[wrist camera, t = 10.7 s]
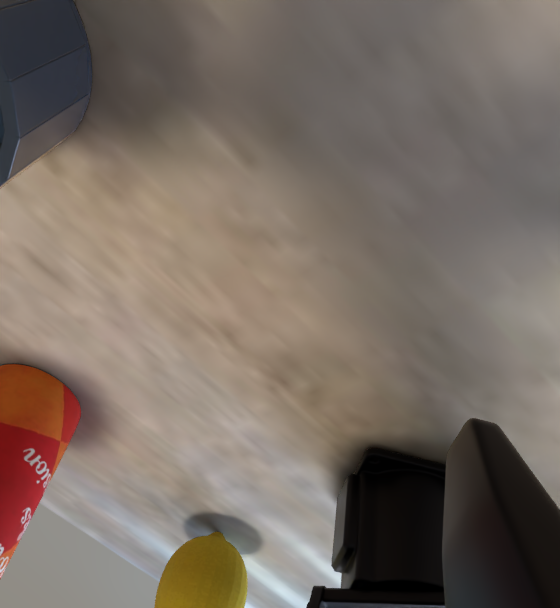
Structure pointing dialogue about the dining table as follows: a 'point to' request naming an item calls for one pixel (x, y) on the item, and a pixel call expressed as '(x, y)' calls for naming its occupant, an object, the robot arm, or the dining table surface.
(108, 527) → the dining table surface
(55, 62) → the ceramic cup
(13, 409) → the paper cup
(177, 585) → the lemon
